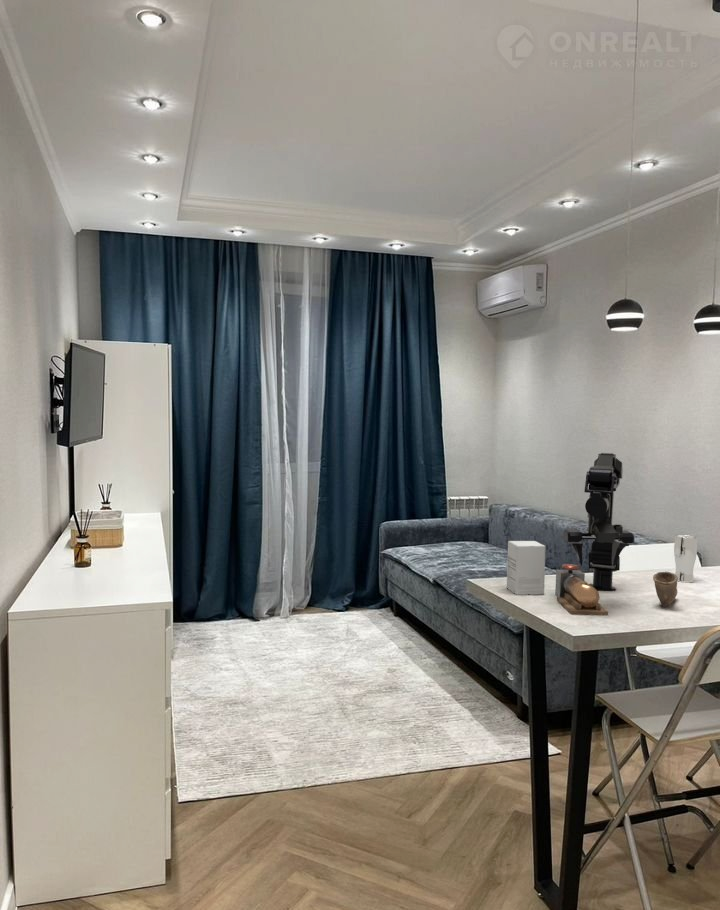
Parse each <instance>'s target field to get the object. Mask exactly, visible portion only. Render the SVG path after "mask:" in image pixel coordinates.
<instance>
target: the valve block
mask: <svg viewBox="0 0 720 910" xmlns="http://www.w3.org/2000/svg"><path fill="white" fill-rule="evenodd" d="M561 566H562V567H561V568H562V569H555V571H556V572H555V590H554V591H555V593H554V594H555V596H556V598H557V597H558V598H564V596H565V593H568V591H567V589H566V585H567V582H568V581H569V580H570V579H571V578H574V577H579V578H581V579H583V580H584V581H585V580H586V579H585V577H586V576H585V575H586V574H585V573H584V572H583V571H581V570H580V565H578V564H570V563H563V564H562V565H561ZM585 582H586V581H585Z"/></svg>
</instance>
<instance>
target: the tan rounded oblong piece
mask: <svg viewBox="0 0 720 910" xmlns="http://www.w3.org/2000/svg"><path fill="white" fill-rule="evenodd" d="M589 584H590V583H588V582H587V581H584V580H583V579H581V578H579V577H574V578H571V579H570V580H569V581H568V582H567V585H566V589H567V591H568V593H569V594H570V595H571V596H573V597H574V598H575V599H576V600H577V601H578V602H580V603H581V604H582V605H583V606H585V607H594V606H595V605H596V604H597V603H599V601H600V593H599V590H596V589H595V588H593V587H592V586H591V585H589Z"/></svg>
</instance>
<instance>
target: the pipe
mask: <svg viewBox="0 0 720 910" xmlns="http://www.w3.org/2000/svg"><path fill="white" fill-rule="evenodd" d="M652 580H653V582H654V587H655V593H656V596H657V598H658V601H659V603H660V604H661V606H662V607H663V608H667V607H668V606H670V605H671V604H672V603H674V602H673V601H674V600H676V597H677V595H678V587H677V586H678V577H677V575H675V572H670V571H658V572H656V573H654V574H653V576H652Z"/></svg>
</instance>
